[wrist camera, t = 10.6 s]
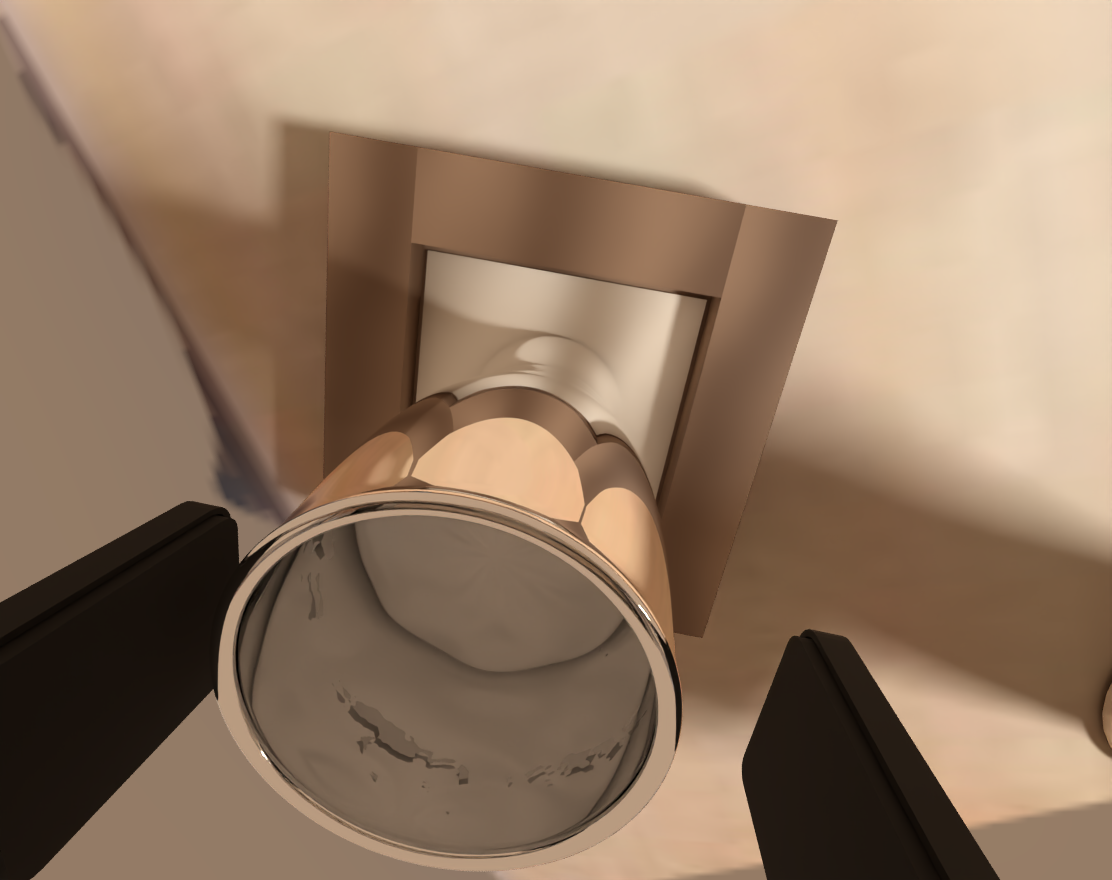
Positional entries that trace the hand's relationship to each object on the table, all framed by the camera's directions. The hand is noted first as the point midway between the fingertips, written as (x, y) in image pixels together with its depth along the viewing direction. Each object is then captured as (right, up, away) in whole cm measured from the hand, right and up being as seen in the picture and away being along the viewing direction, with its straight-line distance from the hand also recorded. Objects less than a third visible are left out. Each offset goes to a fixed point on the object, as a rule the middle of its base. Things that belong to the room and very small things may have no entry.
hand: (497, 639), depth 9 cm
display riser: (+1, +6, +15) cm, 17 cm away
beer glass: (+1, +5, +13) cm, 14 cm away
